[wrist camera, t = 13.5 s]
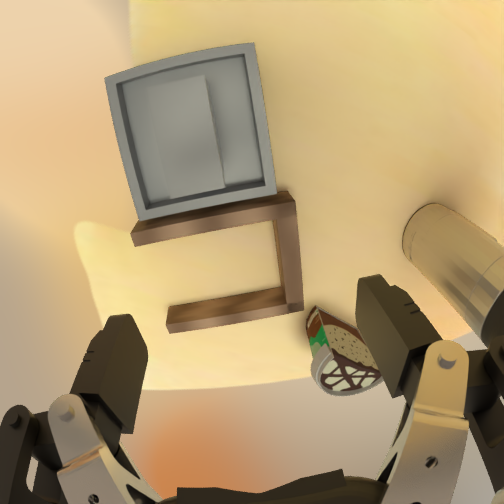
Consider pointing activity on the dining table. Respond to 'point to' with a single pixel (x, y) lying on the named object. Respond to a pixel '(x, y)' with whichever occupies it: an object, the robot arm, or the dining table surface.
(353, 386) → the food container
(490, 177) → the dining table surface
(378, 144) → the dining table surface
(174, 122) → the grey rectangular prism
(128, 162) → the charcoal tray
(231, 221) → the walnut bay
